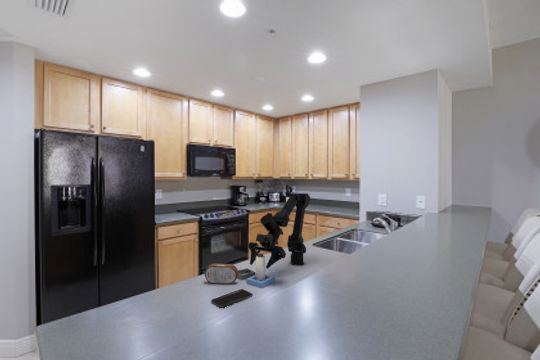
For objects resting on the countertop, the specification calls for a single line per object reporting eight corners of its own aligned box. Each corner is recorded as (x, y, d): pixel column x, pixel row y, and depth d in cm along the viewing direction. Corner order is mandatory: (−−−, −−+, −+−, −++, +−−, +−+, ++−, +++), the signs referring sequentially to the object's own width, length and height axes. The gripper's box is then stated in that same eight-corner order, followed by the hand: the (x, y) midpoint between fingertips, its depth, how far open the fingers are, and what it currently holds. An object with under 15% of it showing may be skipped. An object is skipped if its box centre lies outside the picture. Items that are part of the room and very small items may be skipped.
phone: (209, 300, 97) (241, 288, 107) (209, 303, 97) (241, 291, 107) (221, 307, 91) (253, 294, 102) (221, 310, 91) (254, 297, 102)
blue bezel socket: (259, 277, 122) (259, 273, 122) (274, 281, 117) (274, 276, 117) (246, 283, 115) (246, 278, 115) (262, 288, 109) (262, 283, 109)
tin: (238, 282, 116) (238, 263, 116) (237, 285, 113) (236, 265, 113) (206, 281, 118) (206, 262, 118) (203, 284, 115) (203, 265, 115)
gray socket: (247, 272, 129) (247, 268, 129) (255, 276, 123) (255, 272, 123) (234, 275, 125) (233, 271, 125) (241, 280, 119) (241, 275, 119)
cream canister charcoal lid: (263, 280, 118) (263, 252, 118) (266, 283, 114) (265, 255, 115) (255, 281, 117) (254, 253, 117) (257, 284, 113) (257, 256, 113)
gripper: (249, 225, 125) (234, 253, 116) (282, 228, 114) (267, 260, 105) (260, 238, 131) (245, 266, 122) (291, 243, 120) (278, 273, 111)
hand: (258, 266), depth 115 cm, fingers open, 9 cm apart
